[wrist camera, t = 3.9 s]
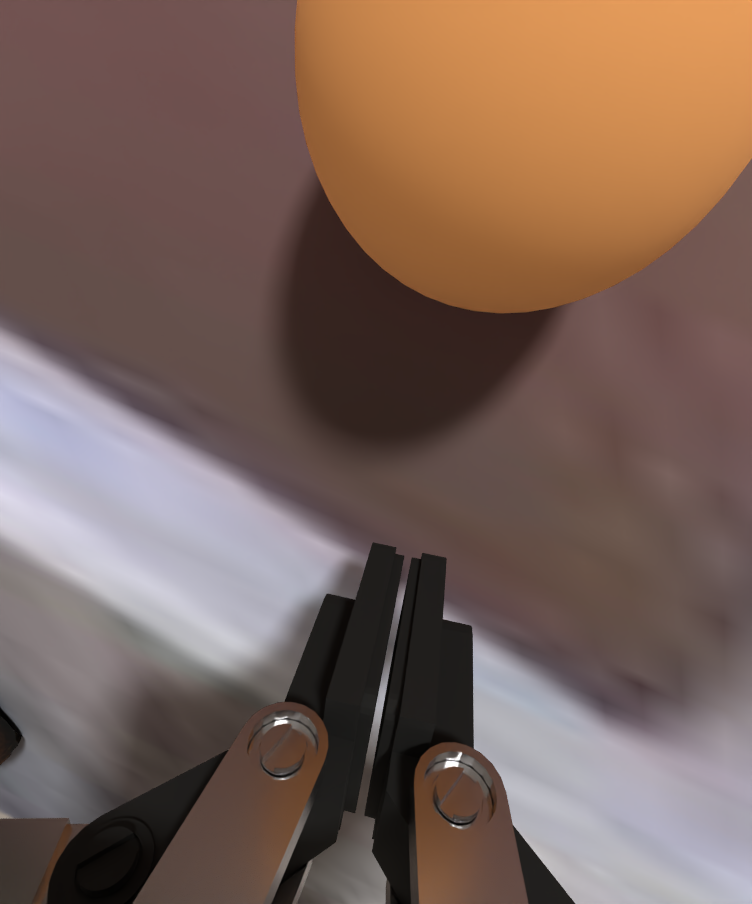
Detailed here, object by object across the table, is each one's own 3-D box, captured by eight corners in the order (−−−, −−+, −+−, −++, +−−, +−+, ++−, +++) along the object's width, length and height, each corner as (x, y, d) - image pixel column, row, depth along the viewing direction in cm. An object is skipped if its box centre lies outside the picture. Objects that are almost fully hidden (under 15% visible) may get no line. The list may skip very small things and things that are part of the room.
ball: (616, 309, 9) (776, 403, 4) (339, 266, 10) (207, 308, 5) (750, -86, 7) (1446, -873, 2) (372, -111, 8) (176, -758, 3)
